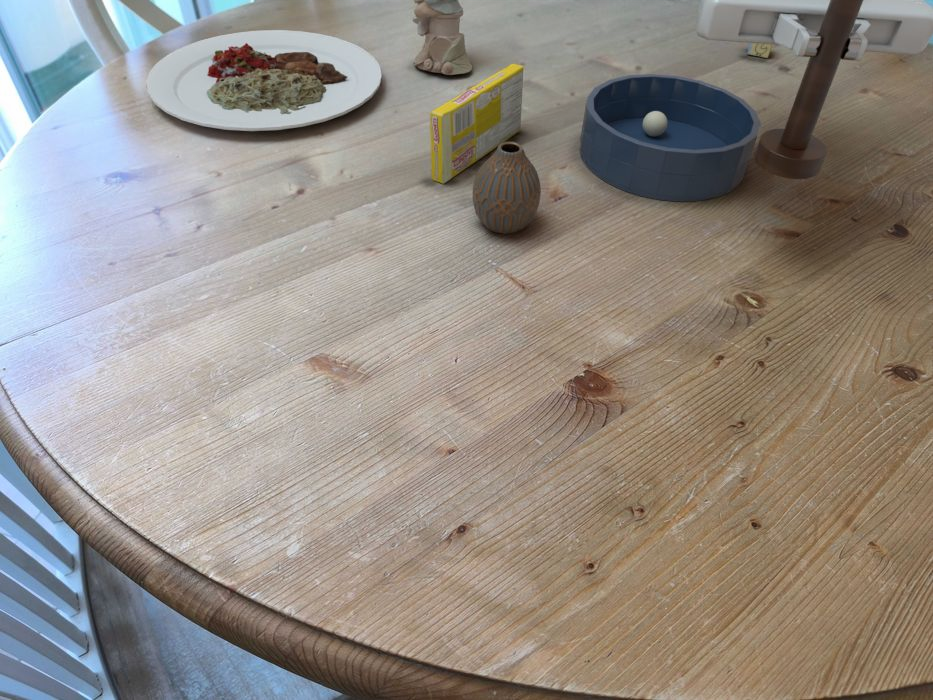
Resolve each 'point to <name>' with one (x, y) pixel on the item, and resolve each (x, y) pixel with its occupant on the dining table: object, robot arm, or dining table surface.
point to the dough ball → (655, 123)
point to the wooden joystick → (809, 102)
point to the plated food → (264, 80)
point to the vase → (506, 190)
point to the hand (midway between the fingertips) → (832, 49)
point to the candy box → (475, 122)
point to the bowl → (668, 137)
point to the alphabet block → (759, 49)
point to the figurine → (441, 37)
